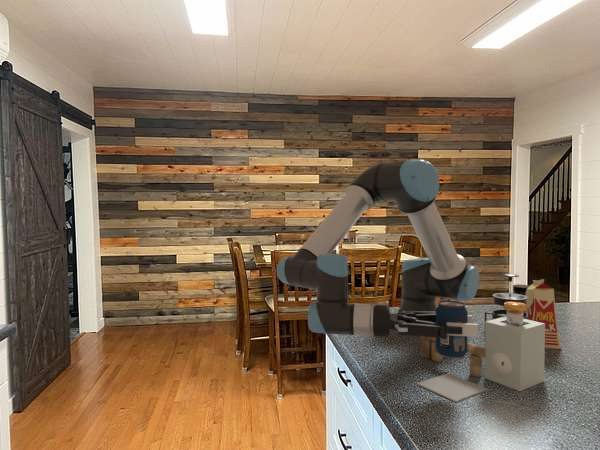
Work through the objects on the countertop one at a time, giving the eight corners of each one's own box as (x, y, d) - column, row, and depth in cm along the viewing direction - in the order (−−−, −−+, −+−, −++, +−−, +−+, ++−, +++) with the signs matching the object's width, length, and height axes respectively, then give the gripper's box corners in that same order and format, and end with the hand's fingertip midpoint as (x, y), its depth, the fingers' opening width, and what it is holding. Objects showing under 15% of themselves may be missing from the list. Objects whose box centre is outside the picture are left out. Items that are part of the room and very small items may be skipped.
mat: (417, 384, 102) (417, 383, 102) (447, 374, 108) (447, 373, 108) (456, 402, 93) (456, 401, 93) (487, 390, 99) (487, 388, 99)
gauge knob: (499, 332, 105) (499, 303, 104) (511, 329, 107) (511, 300, 107) (518, 337, 101) (519, 307, 100) (530, 334, 103) (530, 304, 103)
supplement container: (510, 313, 166) (511, 286, 166) (514, 309, 172) (514, 283, 171) (530, 316, 162) (530, 288, 162) (533, 312, 167) (533, 285, 167)
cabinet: (479, 380, 105) (479, 322, 104) (508, 369, 111) (509, 315, 110) (514, 393, 97) (515, 332, 96) (544, 381, 103) (545, 323, 103)
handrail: (419, 355, 122) (420, 324, 121) (430, 352, 124) (430, 321, 123) (481, 379, 105) (481, 342, 105) (492, 375, 107) (492, 339, 107)
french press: (531, 353, 122) (532, 273, 121) (530, 364, 114) (532, 278, 113) (486, 347, 128) (487, 270, 127) (482, 357, 120) (483, 275, 119)
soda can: (444, 347, 105) (444, 298, 104) (472, 354, 100) (473, 303, 99) (429, 354, 100) (430, 303, 100) (458, 362, 95) (459, 308, 95)
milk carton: (561, 348, 126) (562, 280, 125) (527, 347, 128) (528, 280, 127) (550, 339, 135) (551, 275, 134) (518, 337, 137) (519, 274, 136)
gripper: (374, 324, 114) (467, 329, 108) (370, 349, 94) (482, 356, 89) (374, 296, 113) (468, 300, 108) (370, 315, 94) (483, 320, 89)
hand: (474, 325), depth 99 cm, fingers closed on soda can, 7 cm apart
